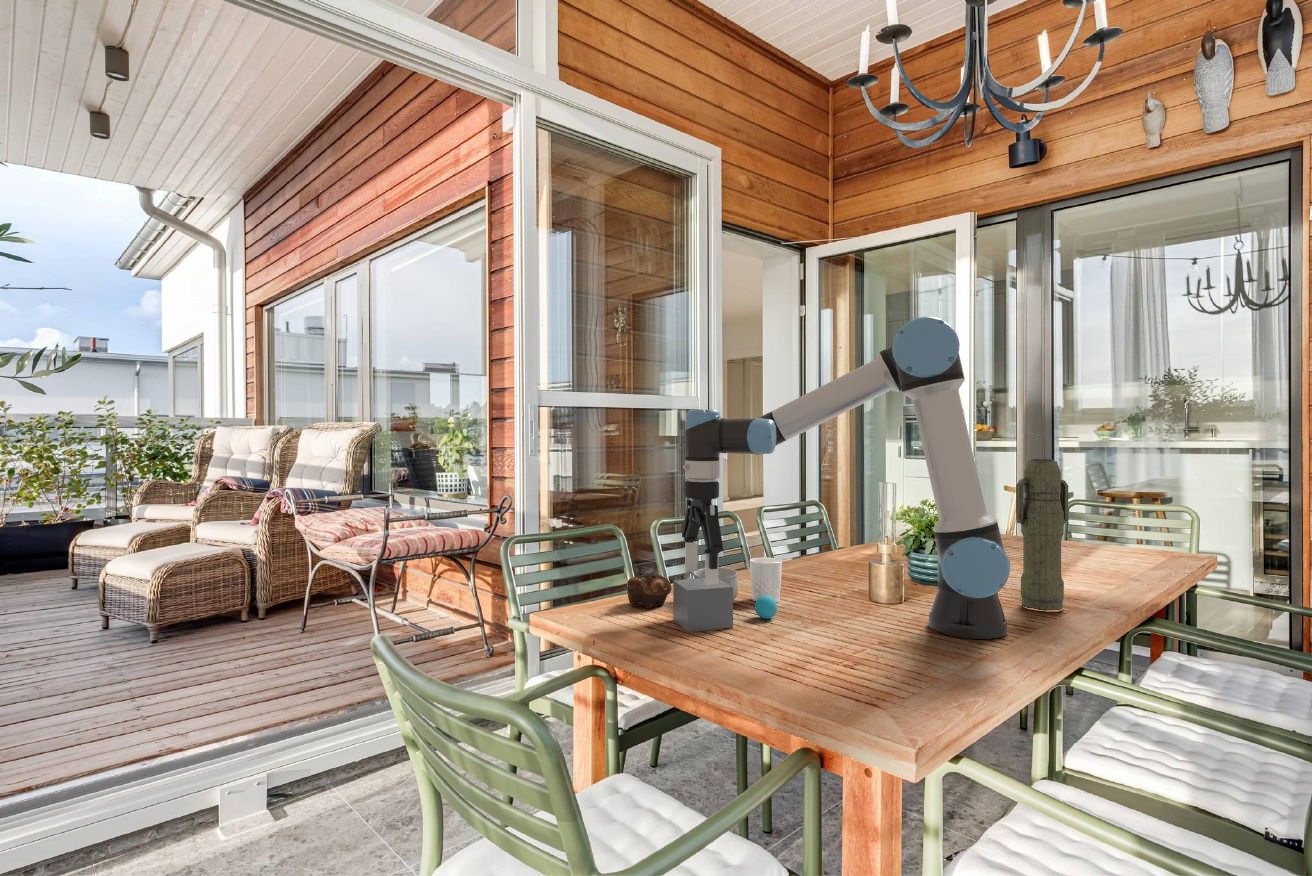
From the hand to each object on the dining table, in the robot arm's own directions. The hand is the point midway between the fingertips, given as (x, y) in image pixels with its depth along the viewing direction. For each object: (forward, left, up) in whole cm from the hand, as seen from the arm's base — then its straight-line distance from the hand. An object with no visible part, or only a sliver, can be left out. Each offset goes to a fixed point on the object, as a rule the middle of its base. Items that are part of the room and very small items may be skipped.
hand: (700, 577), depth 155 cm
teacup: (+17, -8, -10) cm, 21 cm away
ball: (0, -15, -8) cm, 17 cm away
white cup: (+15, -22, -10) cm, 29 cm away
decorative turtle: (+19, +7, -10) cm, 22 cm away
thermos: (-10, -81, -10) cm, 83 cm away
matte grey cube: (0, 0, -10) cm, 10 cm away
